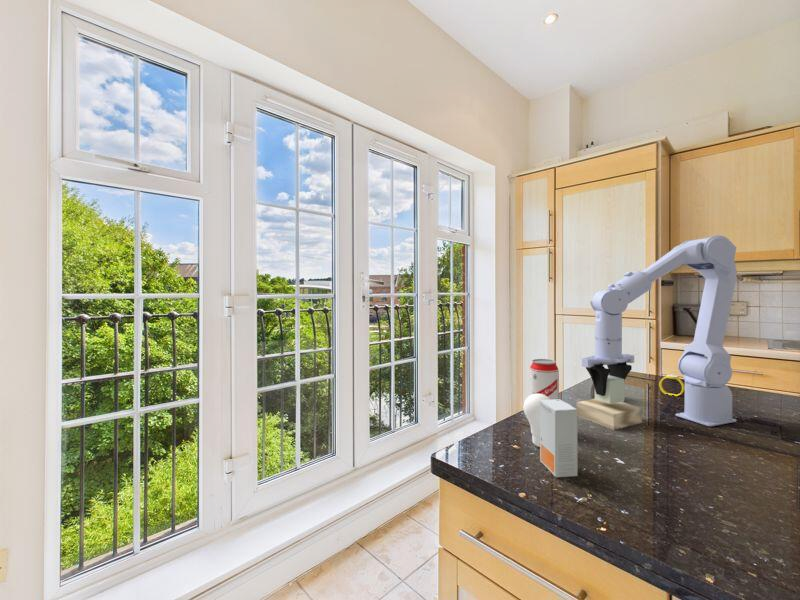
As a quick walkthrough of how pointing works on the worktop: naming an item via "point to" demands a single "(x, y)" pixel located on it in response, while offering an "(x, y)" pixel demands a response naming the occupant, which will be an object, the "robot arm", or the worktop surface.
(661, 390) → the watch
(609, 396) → the sage block
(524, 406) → the lightbulb
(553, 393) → the beer can
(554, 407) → the skincare box
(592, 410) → the maple block
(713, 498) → the worktop surface
